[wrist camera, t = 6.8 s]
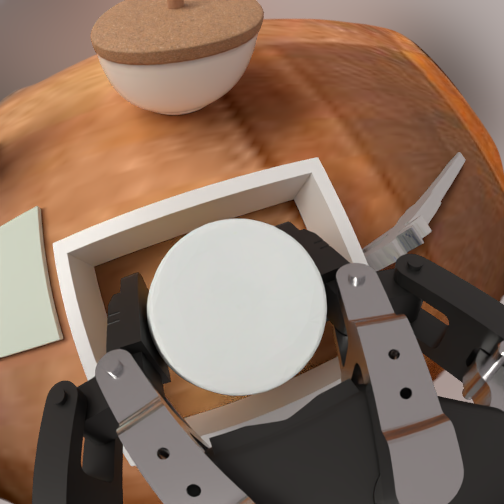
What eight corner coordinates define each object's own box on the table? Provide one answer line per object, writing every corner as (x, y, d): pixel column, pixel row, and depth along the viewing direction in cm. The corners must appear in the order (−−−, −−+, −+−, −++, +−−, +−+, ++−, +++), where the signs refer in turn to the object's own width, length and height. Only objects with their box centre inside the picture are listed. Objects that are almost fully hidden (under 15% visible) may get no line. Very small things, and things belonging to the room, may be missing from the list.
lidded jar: (121, 159, 16) (75, 53, 7) (112, 71, 18) (91, -11, 9) (268, 120, 19) (302, 14, 10) (225, 45, 20) (235, -37, 11)
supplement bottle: (180, 365, 14) (132, 430, 5) (170, 270, 15) (114, 200, 6) (276, 355, 15) (362, 398, 6) (264, 262, 16) (332, 187, 7)
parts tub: (367, 353, 16) (400, 357, 12) (145, 439, 12) (131, 466, 9) (299, 185, 18) (317, 157, 14) (80, 258, 14) (52, 243, 11)
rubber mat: (63, 338, 13) (59, 339, 13) (-15, 362, 11) (-19, 362, 11) (40, 208, 15) (37, 205, 14) (-31, 250, 13) (-35, 249, 12)
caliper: (348, 282, 17) (410, 262, 11) (338, 268, 17) (397, 242, 11) (460, 162, 22) (498, 134, 16) (454, 153, 22) (491, 125, 16)
